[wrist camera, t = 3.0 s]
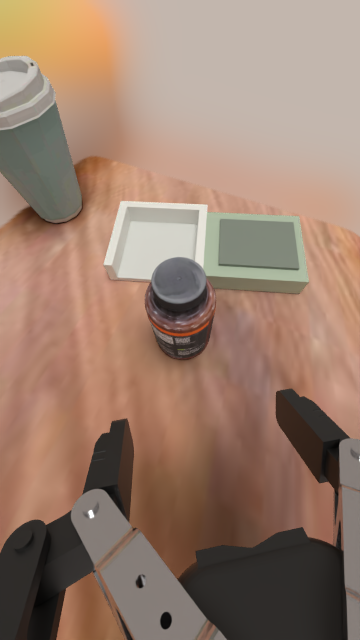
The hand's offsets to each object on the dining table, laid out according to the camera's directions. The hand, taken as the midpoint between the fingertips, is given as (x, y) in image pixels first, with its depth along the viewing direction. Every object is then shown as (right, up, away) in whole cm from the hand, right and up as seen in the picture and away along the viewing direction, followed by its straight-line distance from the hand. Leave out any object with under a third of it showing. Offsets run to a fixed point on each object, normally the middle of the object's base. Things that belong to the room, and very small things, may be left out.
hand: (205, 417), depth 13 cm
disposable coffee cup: (-19, +22, +24) cm, 38 cm away
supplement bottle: (-1, +3, +15) cm, 15 cm away
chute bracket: (-4, +14, +20) cm, 25 cm away
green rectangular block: (+8, +13, +19) cm, 24 cm away
